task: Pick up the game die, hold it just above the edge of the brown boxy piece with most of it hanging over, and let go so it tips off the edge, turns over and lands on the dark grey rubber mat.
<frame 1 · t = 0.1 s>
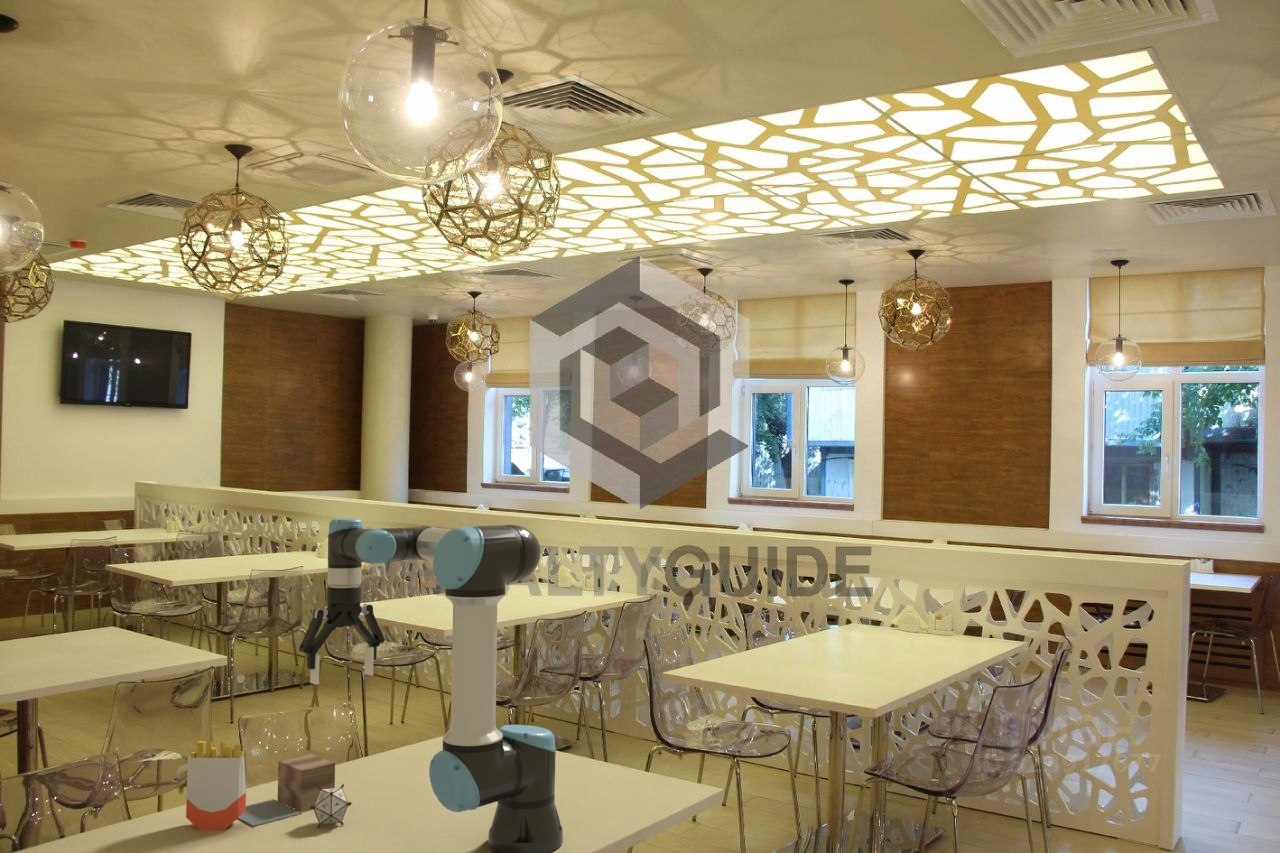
hand: (342, 679, 223), 28 cm above the table, tool pointing down, fingers open, 13 cm apart
brown boxy piece: (305, 802, 221), on the table
game die: (330, 825, 207), on the table
french fries container: (216, 826, 206), on the table
mat: (263, 813, 214), on the table
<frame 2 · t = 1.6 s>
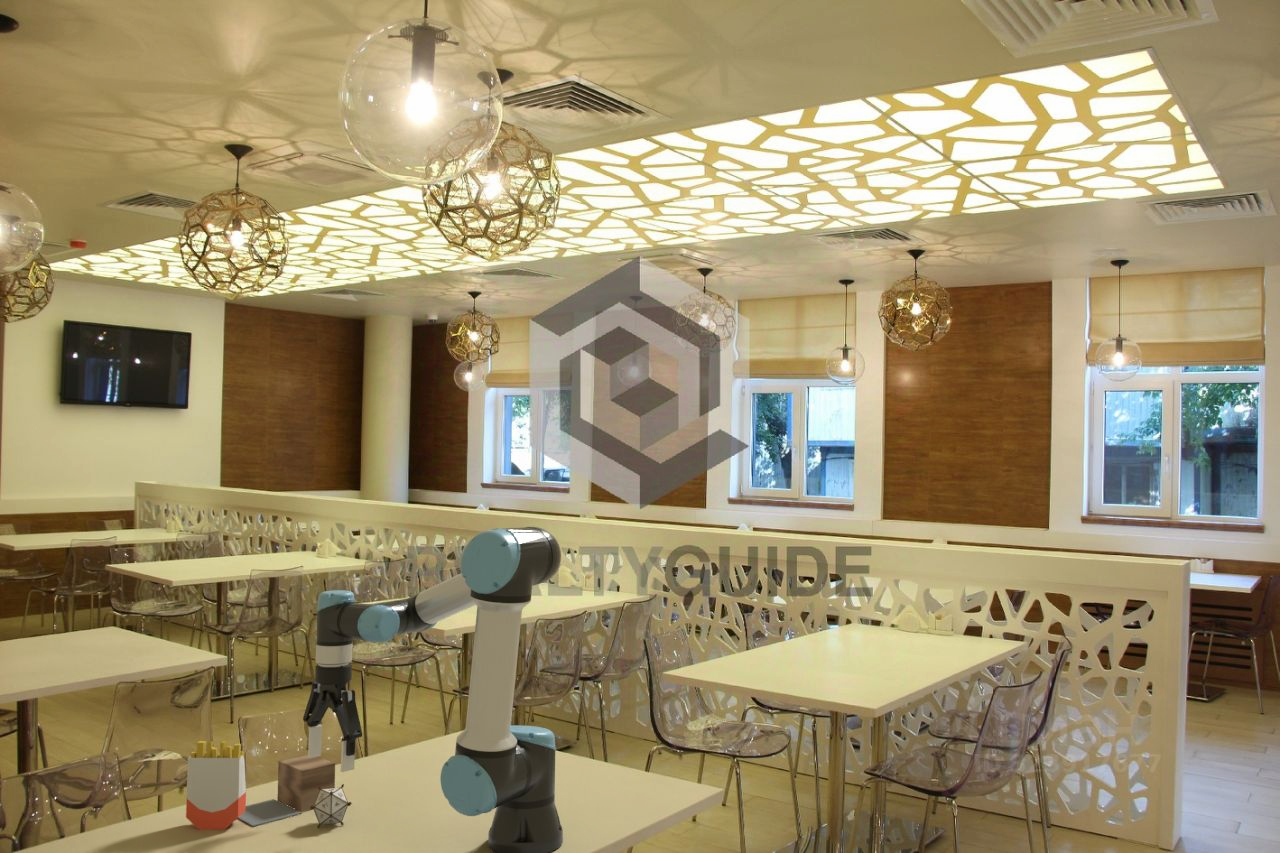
hand: (330, 763, 208), 13 cm above the table, tool pointing down, fingers open, 13 cm apart
nothing on the table moved.
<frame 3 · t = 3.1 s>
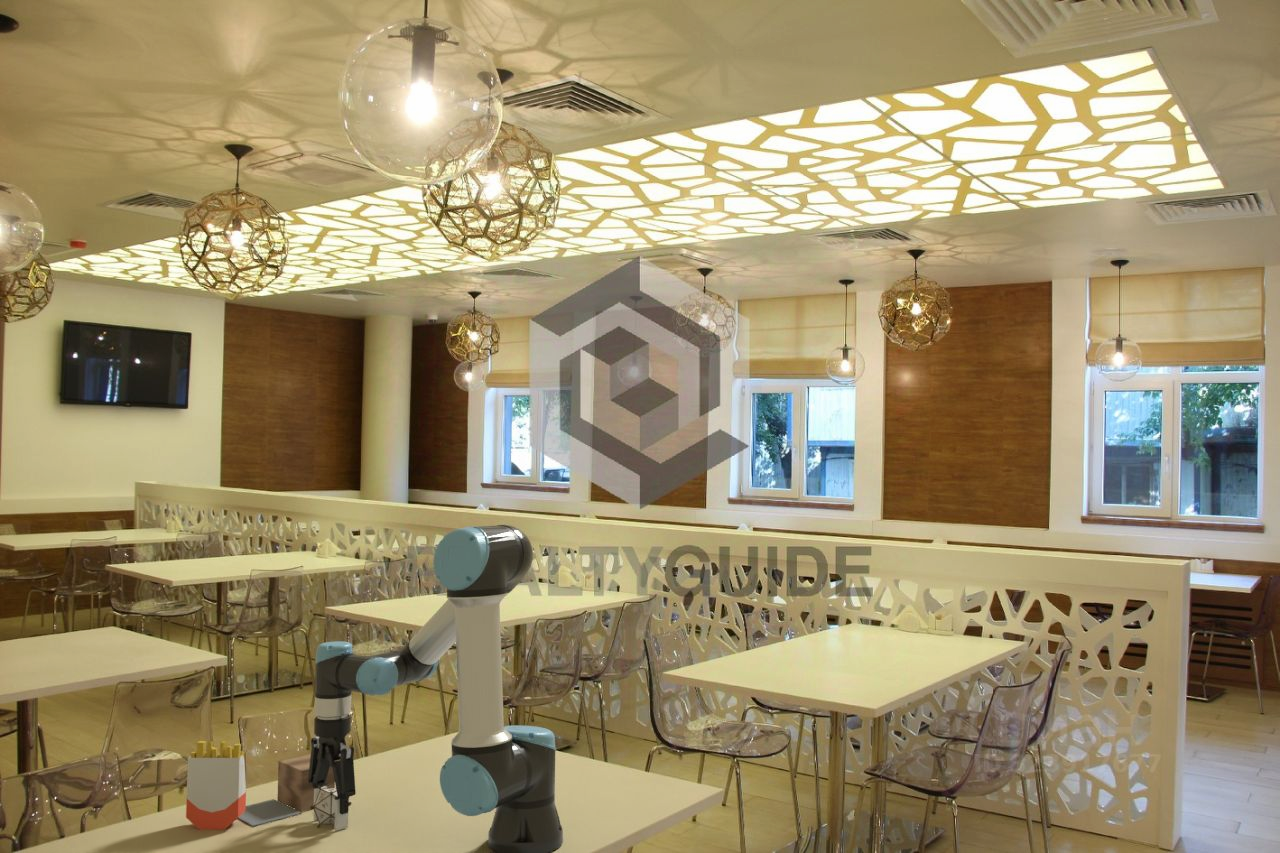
hand: (330, 823, 207), 0 cm above the table, tool pointing down, fingers closed on game die, 8 cm apart
game die: (330, 825, 207), on the table, touching gripper
everything else where it was.
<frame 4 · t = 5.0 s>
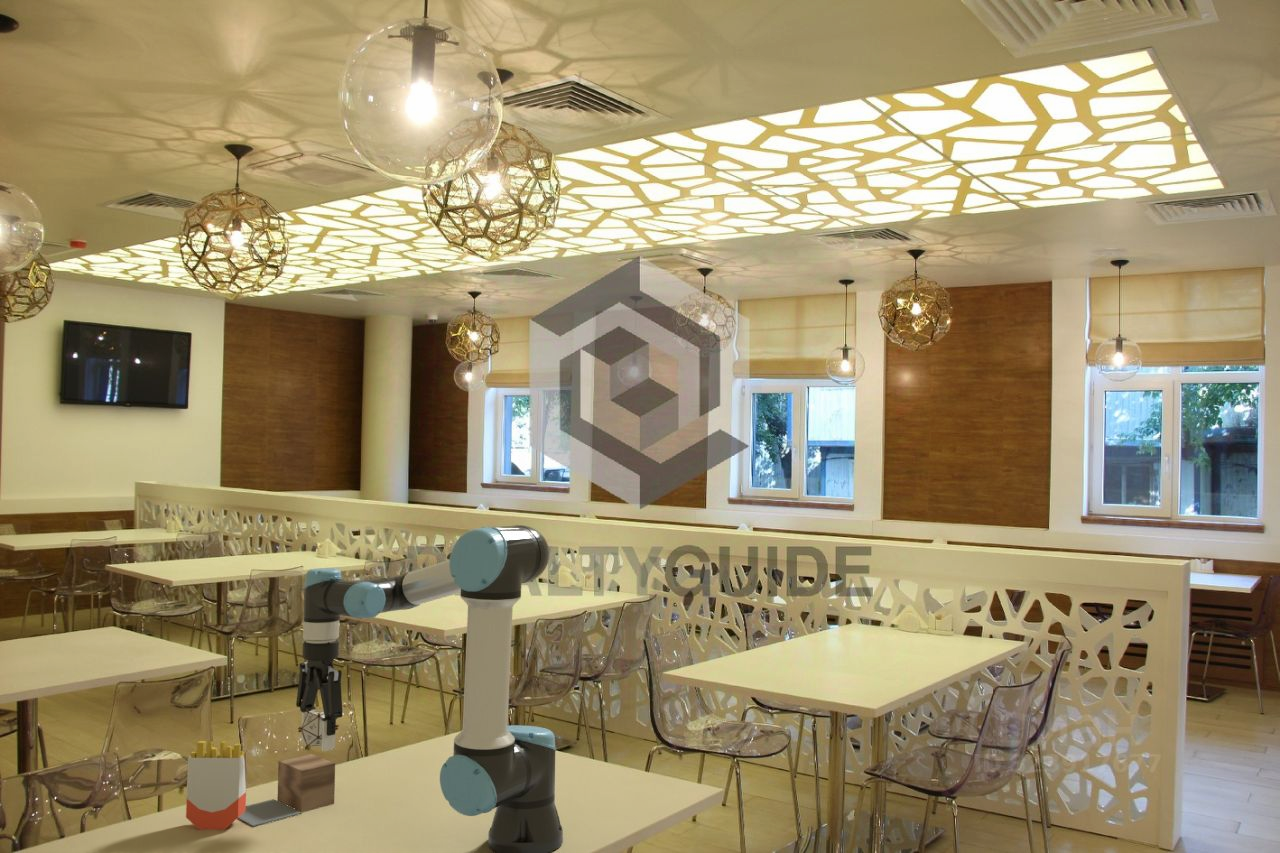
hand: (317, 745, 211), 16 cm above the table, tool pointing down, fingers closed on game die, 8 cm apart
game die: (317, 748, 211), point 15 cm above the table, touching gripper
everything else where it was.
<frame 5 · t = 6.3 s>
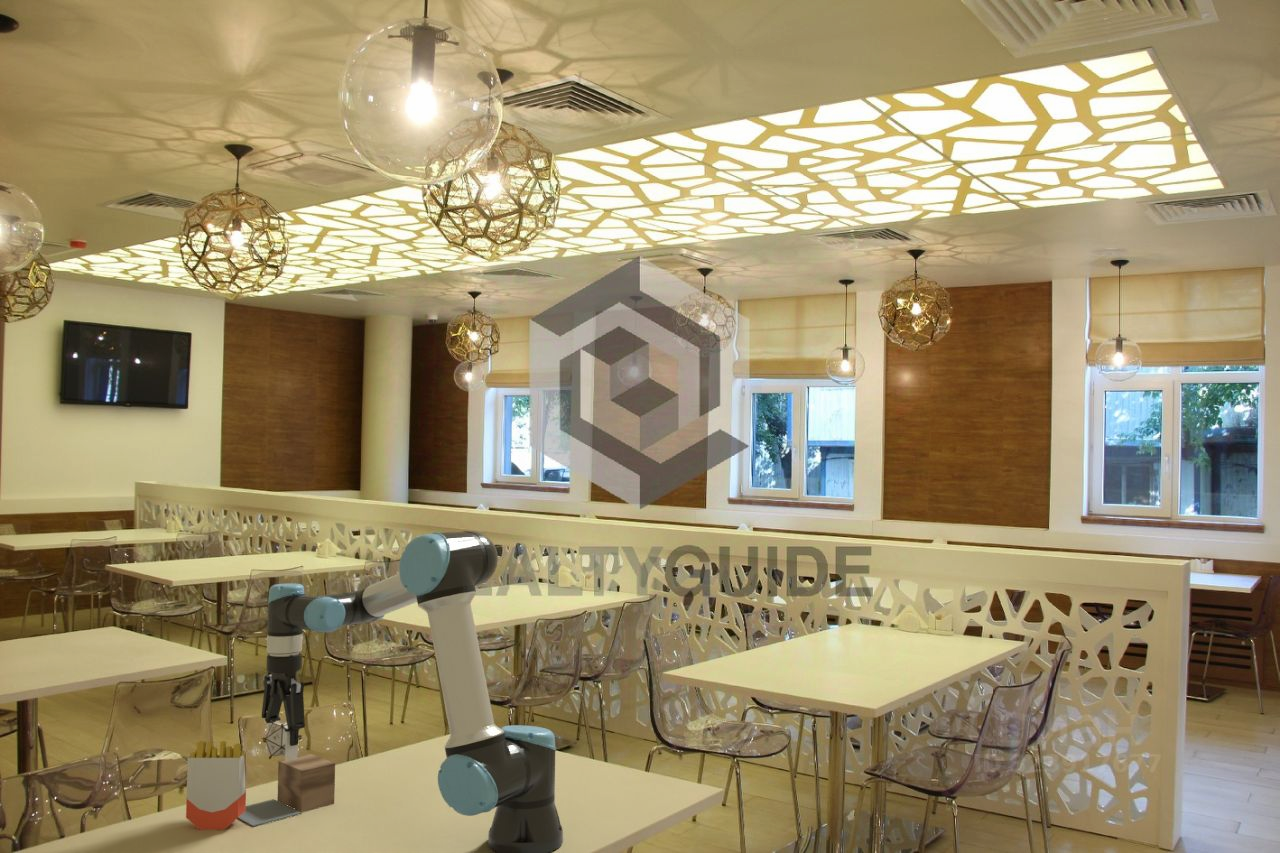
hand: (281, 755, 218), 12 cm above the table, tool pointing down, fingers closed on game die, 8 cm apart
game die: (281, 757, 218), point 11 cm above the table, touching gripper
everything else where it was.
when the fingers open (10 cm above the table, at t = 6.9 s): game die drops 4 cm, resting on mat.
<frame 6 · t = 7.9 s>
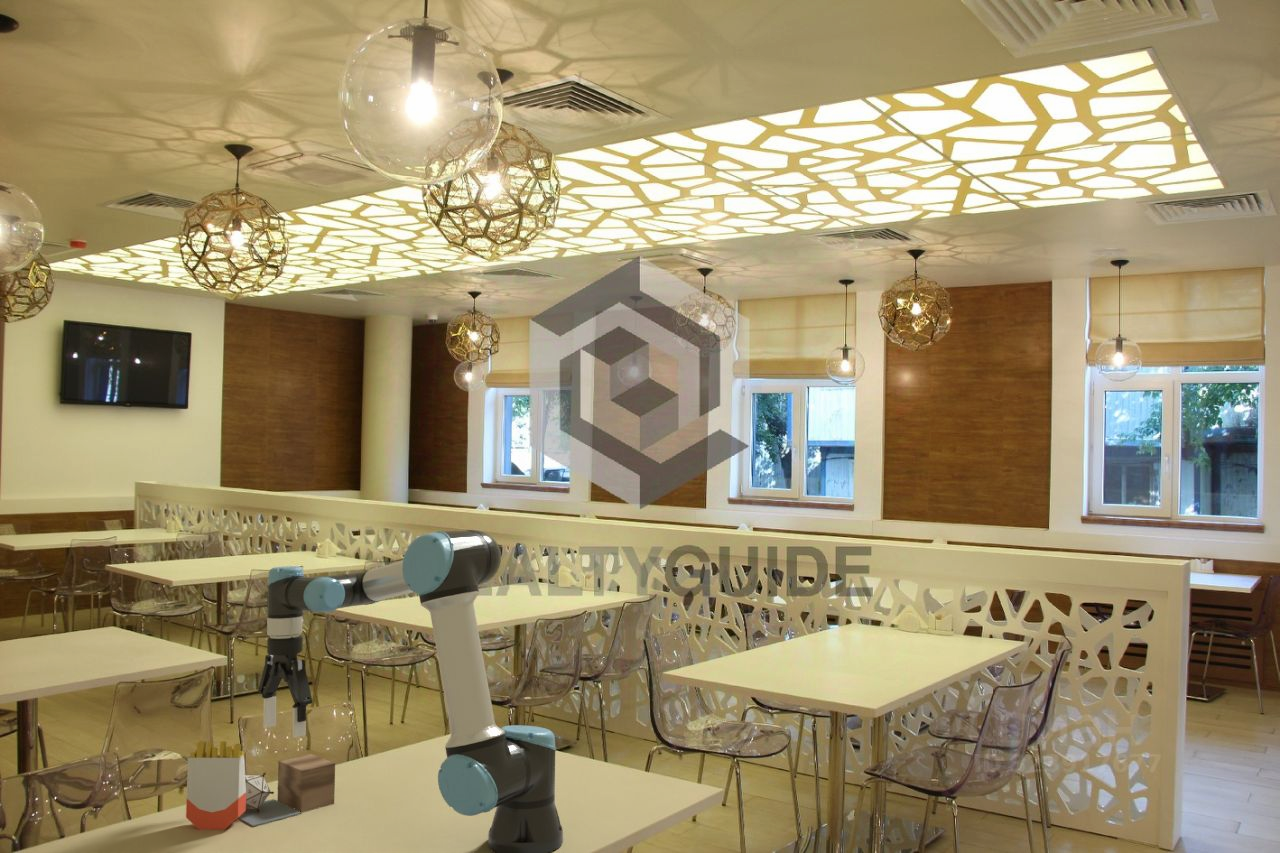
hand: (284, 731, 218), 17 cm above the table, tool pointing down, fingers open, 13 cm apart
game die: (268, 781, 218), point 6 cm above the table, touching mat
everything else where it was.
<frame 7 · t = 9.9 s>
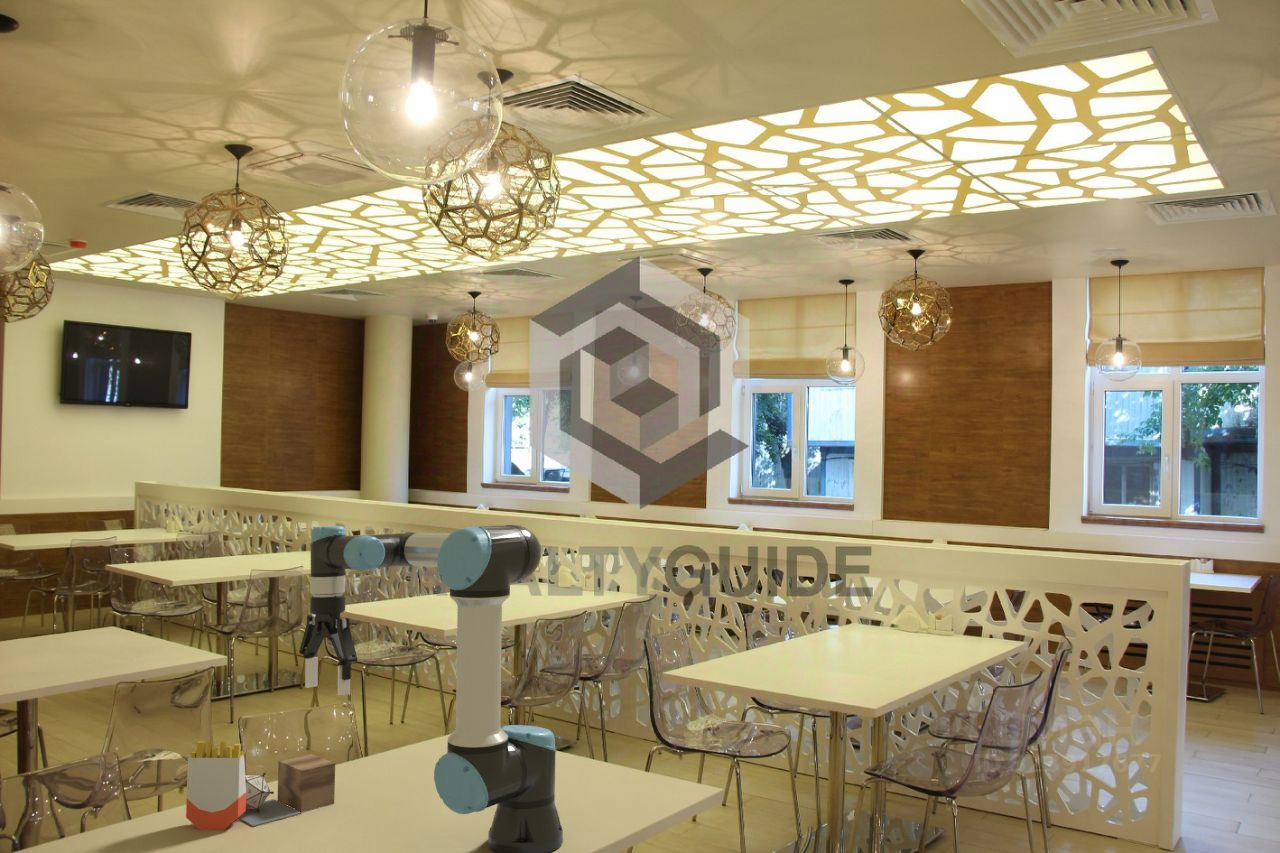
hand: (327, 690, 217), 26 cm above the table, tool pointing down, fingers open, 13 cm apart
nothing on the table moved.
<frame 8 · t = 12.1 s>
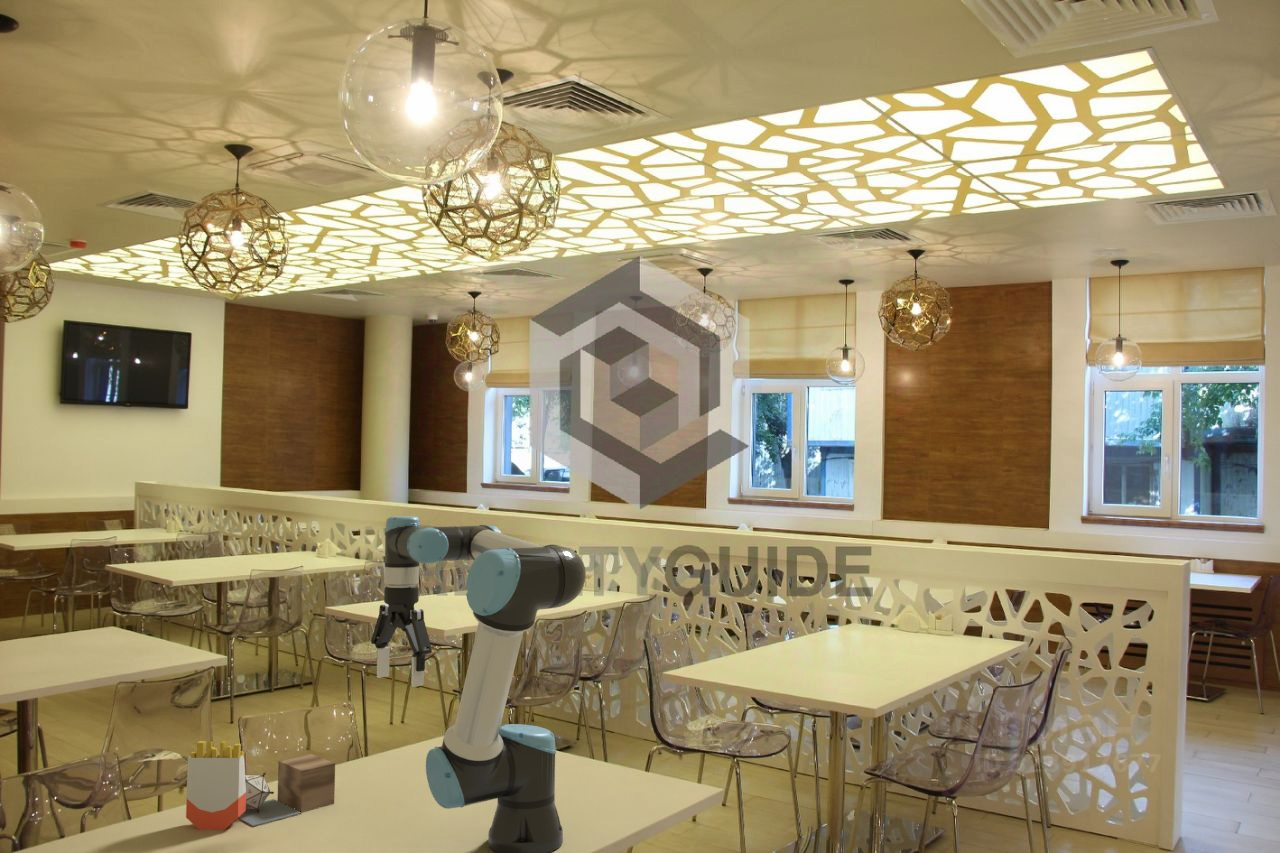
hand: (399, 681, 216), 29 cm above the table, tool pointing down, fingers open, 13 cm apart
nothing on the table moved.
at the end: game die tilted 111°; game die inside the target area (3.6 cm from its centre), point 5.8 cm above the table; the gripper is holding nothing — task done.
